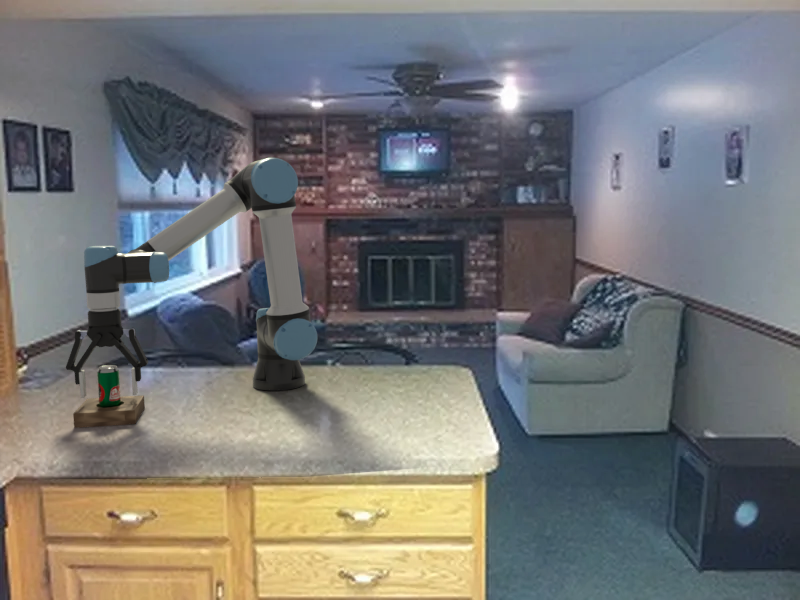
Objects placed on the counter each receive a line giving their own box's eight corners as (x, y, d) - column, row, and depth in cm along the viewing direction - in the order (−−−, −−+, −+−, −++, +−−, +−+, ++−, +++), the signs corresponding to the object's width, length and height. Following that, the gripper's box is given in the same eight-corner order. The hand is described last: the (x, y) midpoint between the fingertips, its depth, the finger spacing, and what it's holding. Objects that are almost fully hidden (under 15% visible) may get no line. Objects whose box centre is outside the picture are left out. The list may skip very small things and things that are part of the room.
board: (144, 408, 191) (144, 395, 191) (135, 424, 178) (134, 410, 177) (88, 411, 189) (87, 398, 188) (74, 427, 175) (73, 413, 175)
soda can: (114, 417, 180) (111, 369, 179) (95, 416, 181) (92, 368, 180) (125, 411, 185) (122, 364, 184) (107, 410, 186) (104, 364, 185)
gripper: (156, 305, 186) (161, 389, 188) (56, 308, 181) (62, 394, 184) (152, 309, 178) (157, 396, 181) (47, 313, 174) (54, 402, 177)
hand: (109, 395), depth 183 cm, fingers open, 11 cm apart
